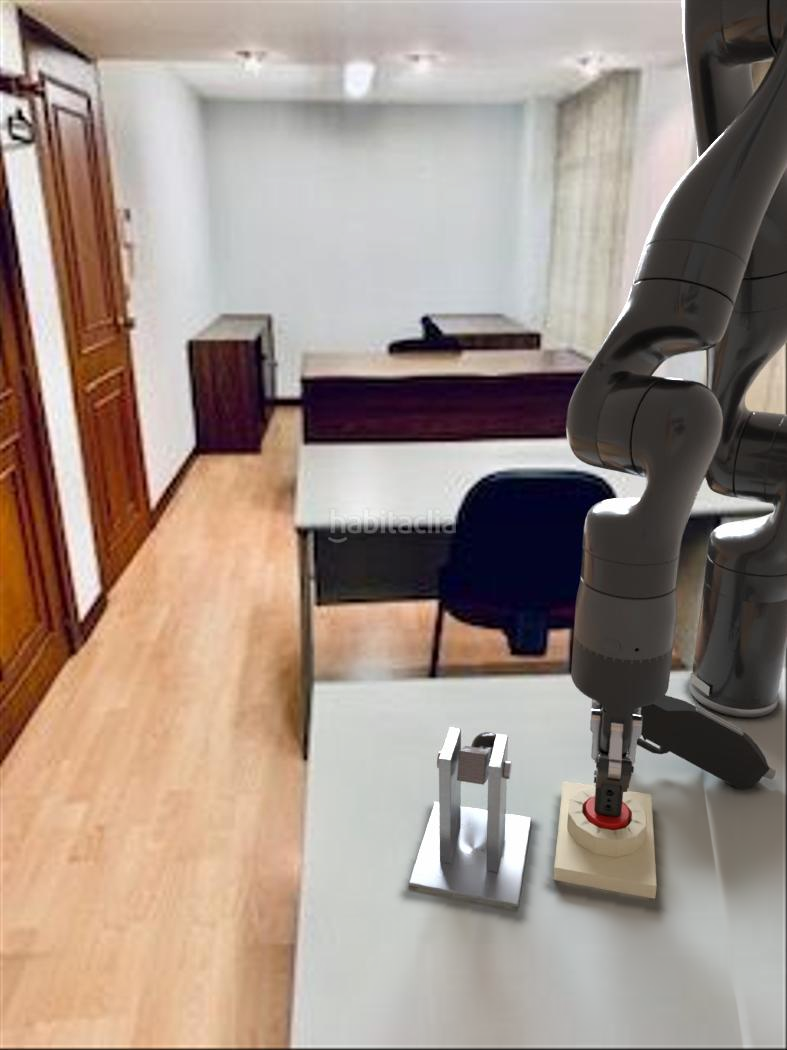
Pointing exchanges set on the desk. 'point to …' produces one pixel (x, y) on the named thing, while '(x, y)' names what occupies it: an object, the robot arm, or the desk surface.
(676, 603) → the robot arm
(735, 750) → the gun
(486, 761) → the press lever
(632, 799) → the button block
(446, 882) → the lever bracket
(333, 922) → the desk surface
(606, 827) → the button
